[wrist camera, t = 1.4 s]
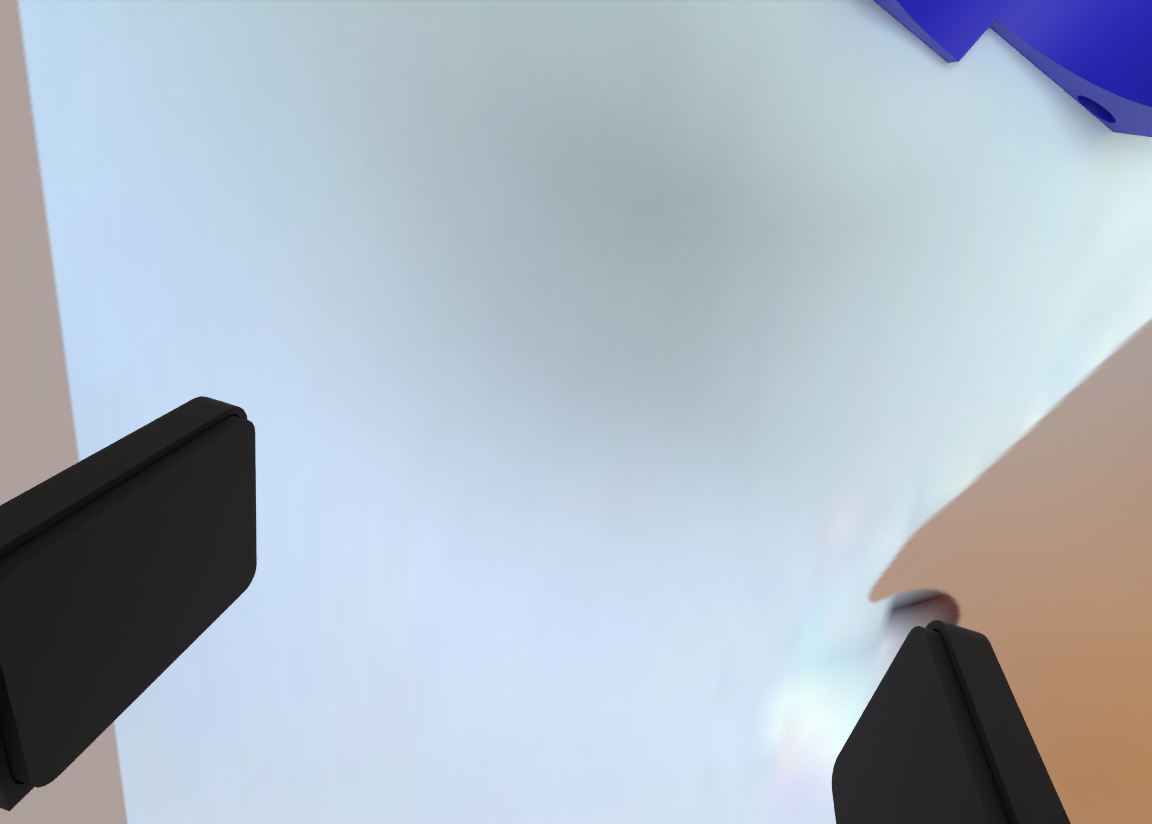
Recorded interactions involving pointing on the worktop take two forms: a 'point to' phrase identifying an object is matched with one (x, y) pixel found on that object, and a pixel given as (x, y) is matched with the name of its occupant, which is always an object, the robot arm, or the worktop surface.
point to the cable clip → (1055, 46)
